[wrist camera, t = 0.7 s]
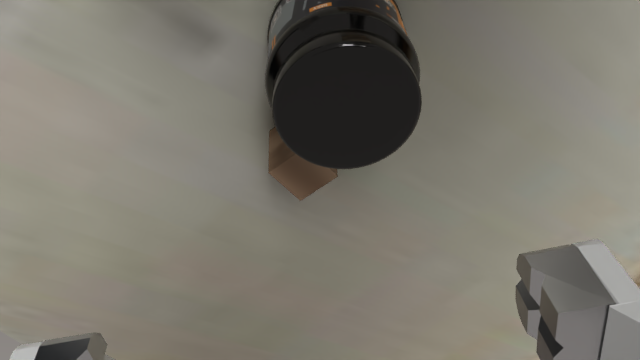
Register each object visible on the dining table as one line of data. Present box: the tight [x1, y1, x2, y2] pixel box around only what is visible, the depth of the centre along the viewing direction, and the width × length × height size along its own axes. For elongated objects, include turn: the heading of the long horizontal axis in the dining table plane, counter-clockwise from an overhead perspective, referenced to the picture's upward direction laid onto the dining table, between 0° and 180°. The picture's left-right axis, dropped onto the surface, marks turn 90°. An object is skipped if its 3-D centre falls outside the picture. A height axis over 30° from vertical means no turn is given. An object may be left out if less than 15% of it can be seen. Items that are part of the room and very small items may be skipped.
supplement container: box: [265, 0, 422, 169], centre depth 42 cm, size 10×10×12 cm
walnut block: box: [269, 127, 338, 201], centre depth 50 cm, size 4×4×6 cm
